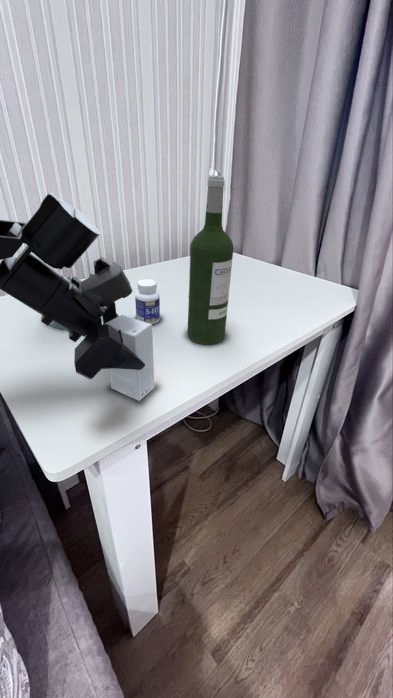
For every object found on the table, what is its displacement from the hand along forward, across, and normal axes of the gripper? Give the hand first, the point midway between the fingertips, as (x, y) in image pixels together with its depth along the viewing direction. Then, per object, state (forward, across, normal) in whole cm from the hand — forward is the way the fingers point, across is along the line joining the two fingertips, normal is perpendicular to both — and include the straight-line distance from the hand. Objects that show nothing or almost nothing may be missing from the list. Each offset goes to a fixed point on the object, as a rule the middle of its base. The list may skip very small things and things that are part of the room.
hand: (139, 353), depth 51 cm
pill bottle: (+8, +23, +1) cm, 25 cm away
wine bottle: (+16, +14, -6) cm, 22 cm away
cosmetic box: (+4, 0, +6) cm, 7 cm away
